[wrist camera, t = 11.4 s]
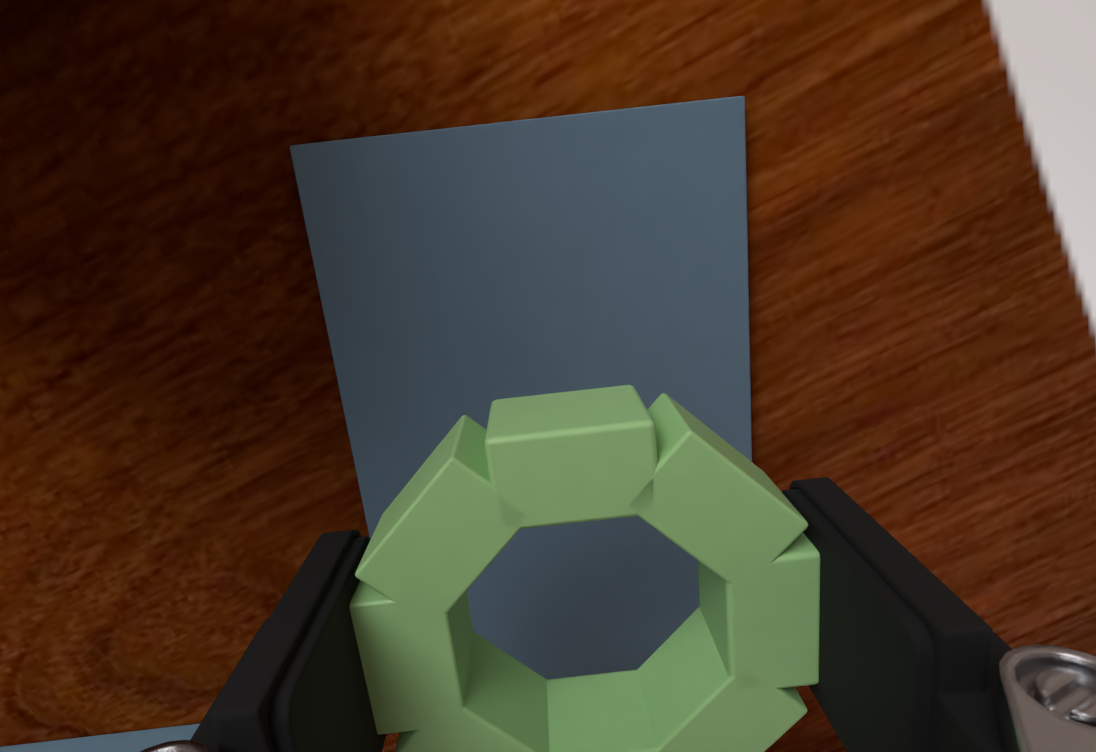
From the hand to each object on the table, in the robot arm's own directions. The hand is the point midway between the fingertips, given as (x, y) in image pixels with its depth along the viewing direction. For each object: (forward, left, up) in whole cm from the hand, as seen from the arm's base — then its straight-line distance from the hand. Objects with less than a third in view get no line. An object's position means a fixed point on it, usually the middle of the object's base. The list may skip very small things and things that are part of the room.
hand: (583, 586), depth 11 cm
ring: (0, 0, 0) cm, 0 cm away
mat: (0, 0, -6) cm, 6 cm away
